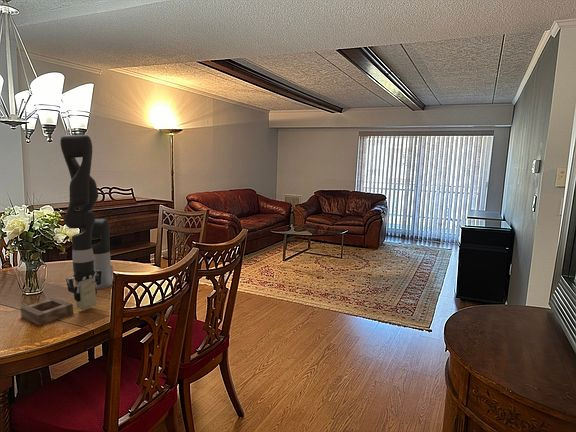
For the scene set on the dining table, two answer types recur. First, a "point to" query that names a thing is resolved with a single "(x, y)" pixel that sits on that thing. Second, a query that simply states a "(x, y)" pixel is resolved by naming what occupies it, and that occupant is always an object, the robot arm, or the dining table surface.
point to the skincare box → (87, 294)
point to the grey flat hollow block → (46, 311)
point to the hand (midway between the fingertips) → (86, 298)
